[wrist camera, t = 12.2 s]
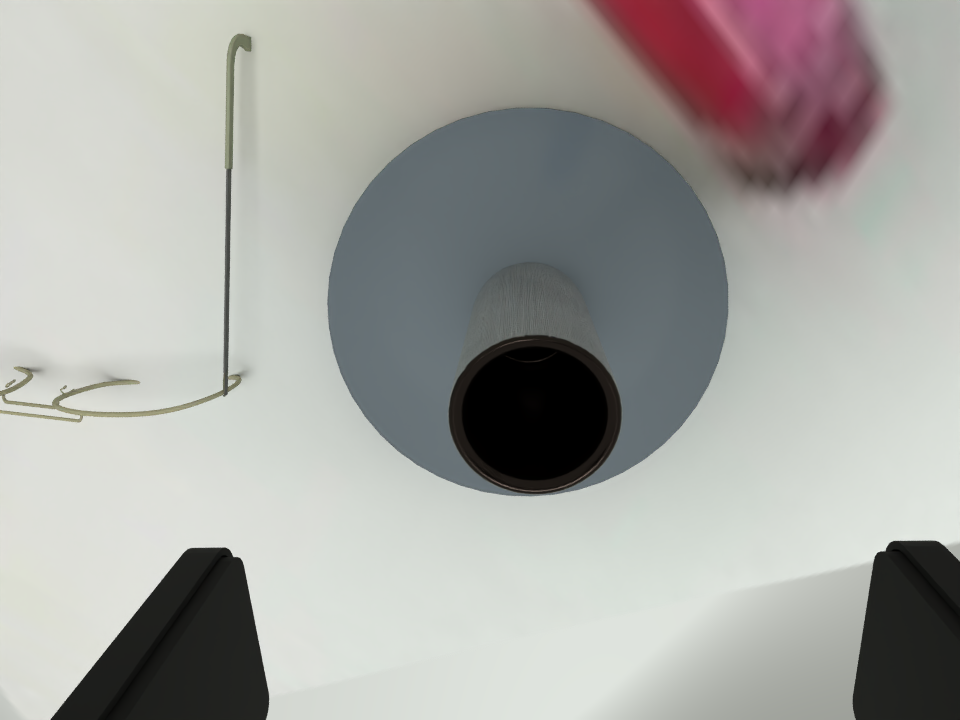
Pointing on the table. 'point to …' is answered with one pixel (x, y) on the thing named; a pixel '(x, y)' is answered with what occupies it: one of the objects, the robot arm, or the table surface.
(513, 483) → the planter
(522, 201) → the dish
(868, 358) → the table surface
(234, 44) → the eyeglasses
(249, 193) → the table surface
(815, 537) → the table surface
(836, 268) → the table surface
